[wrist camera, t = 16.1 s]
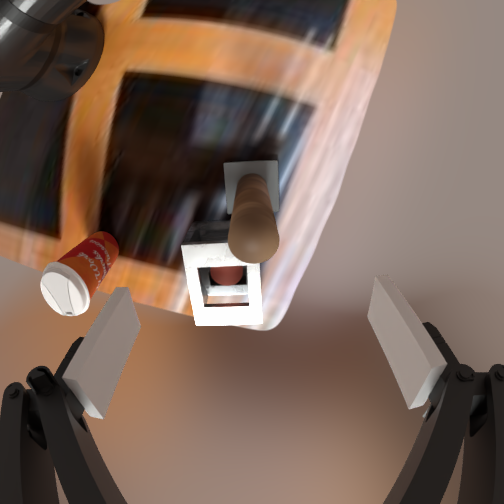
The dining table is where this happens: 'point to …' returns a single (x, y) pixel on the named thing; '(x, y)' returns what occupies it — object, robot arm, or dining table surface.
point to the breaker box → (203, 285)
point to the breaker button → (227, 274)
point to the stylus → (252, 222)
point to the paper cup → (79, 274)
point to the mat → (262, 168)
